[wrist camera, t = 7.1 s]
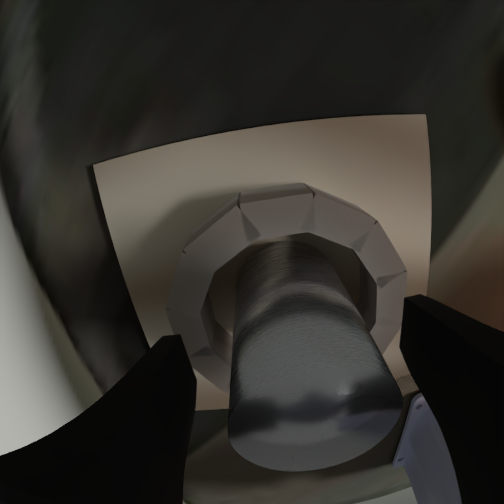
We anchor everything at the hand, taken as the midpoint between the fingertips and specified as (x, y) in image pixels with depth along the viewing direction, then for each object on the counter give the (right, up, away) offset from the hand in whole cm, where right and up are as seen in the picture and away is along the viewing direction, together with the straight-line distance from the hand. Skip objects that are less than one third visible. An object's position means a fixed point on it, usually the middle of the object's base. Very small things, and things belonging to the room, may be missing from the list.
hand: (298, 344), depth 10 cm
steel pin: (0, +1, +3) cm, 3 cm away
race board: (0, +1, +4) cm, 4 cm away
